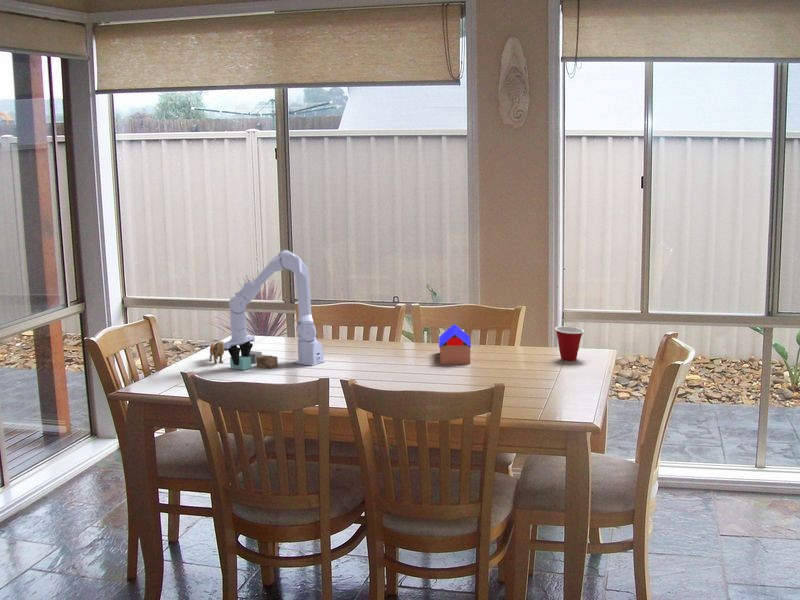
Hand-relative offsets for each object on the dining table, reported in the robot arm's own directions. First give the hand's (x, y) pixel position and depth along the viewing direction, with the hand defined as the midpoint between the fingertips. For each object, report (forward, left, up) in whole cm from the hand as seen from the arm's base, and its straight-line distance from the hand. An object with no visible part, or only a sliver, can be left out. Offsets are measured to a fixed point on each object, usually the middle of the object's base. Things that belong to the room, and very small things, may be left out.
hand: (240, 363), depth 338 cm
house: (-62, -54, -2) cm, 82 cm away
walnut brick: (-7, -7, -2) cm, 10 cm away
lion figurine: (+16, -3, -2) cm, 17 cm away
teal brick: (0, 0, -2) cm, 2 cm away
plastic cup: (-101, -73, -2) cm, 125 cm away
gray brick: (+4, -10, -2) cm, 11 cm away
